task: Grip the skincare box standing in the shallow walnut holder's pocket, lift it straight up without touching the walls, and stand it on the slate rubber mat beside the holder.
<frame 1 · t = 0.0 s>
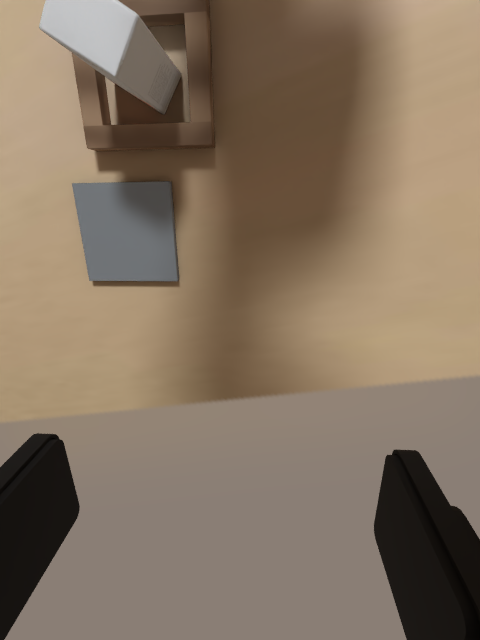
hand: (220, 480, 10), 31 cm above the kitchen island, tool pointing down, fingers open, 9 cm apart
pocket holder: (148, 79, 33), on the kitchen island
skincare box: (149, 80, 33), resting in pocket holder
slate mat: (129, 233, 39), on the kitchen island
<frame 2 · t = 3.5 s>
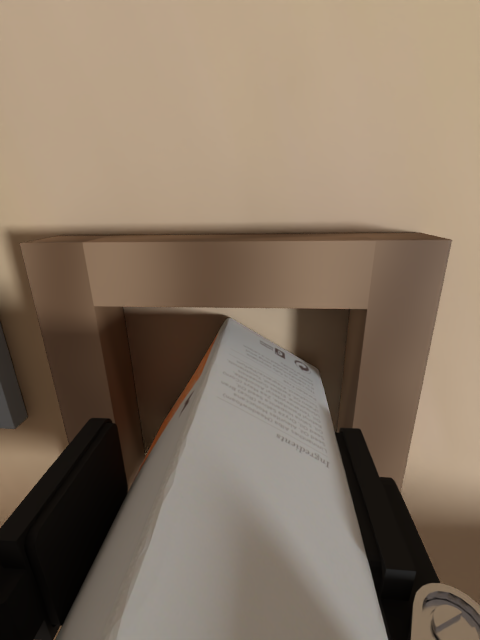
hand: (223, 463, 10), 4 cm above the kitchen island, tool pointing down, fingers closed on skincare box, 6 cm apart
pocket holder: (235, 395, 14), on the kitchen island
skincare box: (235, 393, 14), resting in pocket holder, touching gripper
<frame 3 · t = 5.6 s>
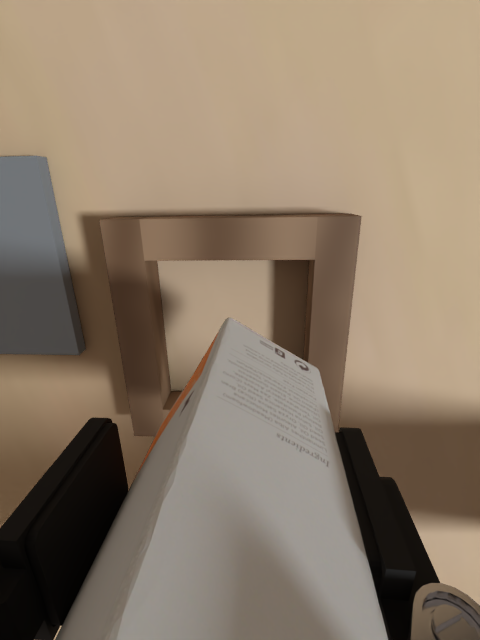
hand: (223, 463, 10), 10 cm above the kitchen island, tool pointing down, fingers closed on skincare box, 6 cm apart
pocket holder: (233, 328, 20), on the kitchen island
skincare box: (235, 393, 14), point 6 cm above the kitchen island, touching gripper
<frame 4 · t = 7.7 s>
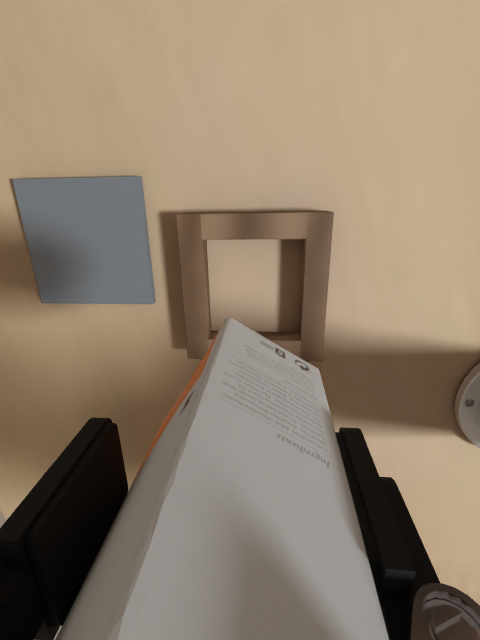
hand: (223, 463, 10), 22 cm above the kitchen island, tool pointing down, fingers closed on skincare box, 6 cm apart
pocket holder: (254, 286, 30), on the kitchen island
skincare box: (235, 393, 14), point 18 cm above the kitchen island, touching gripper
slate mat: (90, 243, 30), on the kitchen island
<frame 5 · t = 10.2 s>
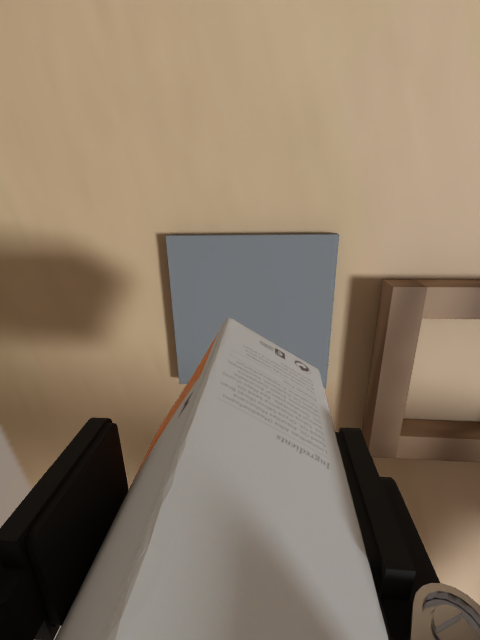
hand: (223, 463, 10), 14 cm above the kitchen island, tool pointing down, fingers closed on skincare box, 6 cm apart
pocket holder: (460, 368, 23), on the kitchen island
skincare box: (234, 393, 14), point 10 cm above the kitchen island, touching gripper
slate mat: (251, 313, 23), on the kitchen island
when the fingers open (6 cm above the kitchen island, at t = 12.2 s): skincare box drops 1 cm, resting on slate mat.
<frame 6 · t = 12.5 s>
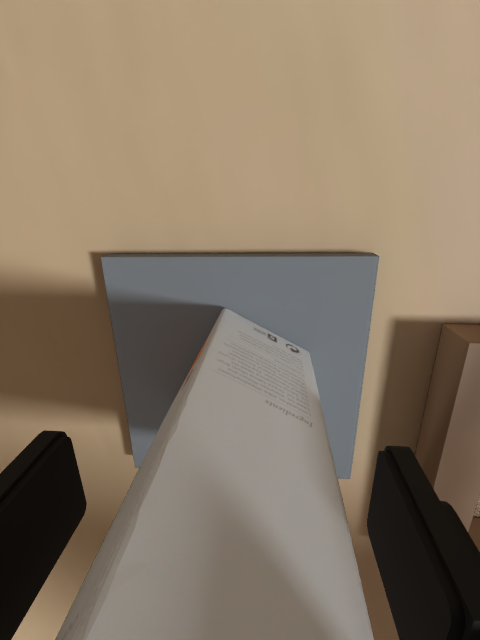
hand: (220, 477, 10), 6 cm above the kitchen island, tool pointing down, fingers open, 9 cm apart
skincare box: (234, 378, 15), point 1 cm above the kitchen island, touching slate mat
slate mat: (239, 370, 16), on the kitchen island
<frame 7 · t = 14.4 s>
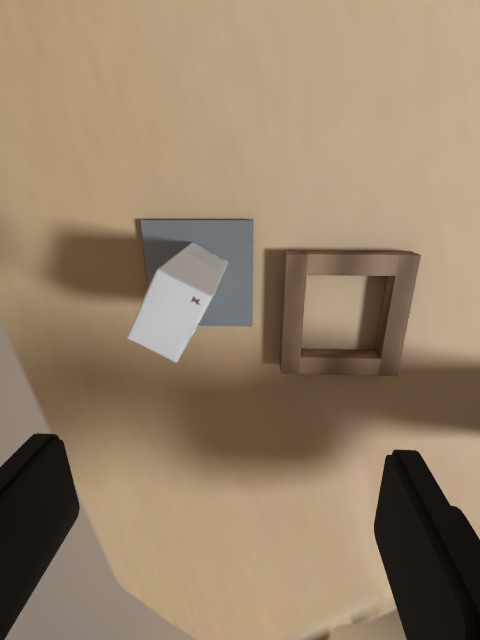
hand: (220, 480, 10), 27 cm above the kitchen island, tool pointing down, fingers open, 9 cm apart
pocket holder: (340, 312, 35), on the kitchen island
skincare box: (198, 276, 34), point 1 cm above the kitchen island, touching slate mat
slate mat: (200, 274, 35), on the kitchen island
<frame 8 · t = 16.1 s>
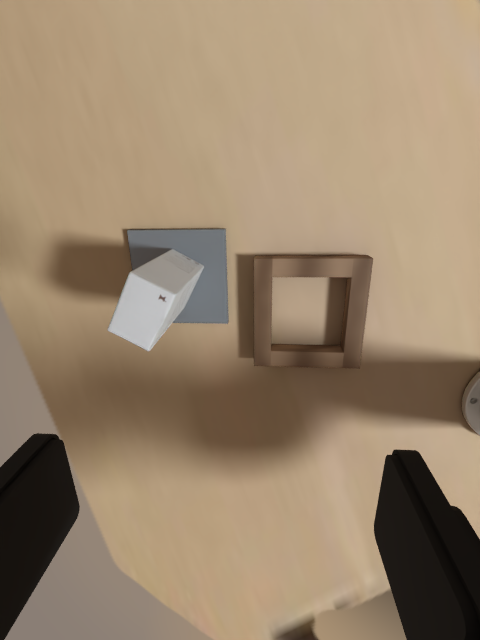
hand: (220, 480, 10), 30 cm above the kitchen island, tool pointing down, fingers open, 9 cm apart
pocket holder: (307, 310, 39), on the kitchen island
skincare box: (178, 279, 38), point 1 cm above the kitchen island, touching slate mat
slate mat: (181, 277, 39), on the kitchen island
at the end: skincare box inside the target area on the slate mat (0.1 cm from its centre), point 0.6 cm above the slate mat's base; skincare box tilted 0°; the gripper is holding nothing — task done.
